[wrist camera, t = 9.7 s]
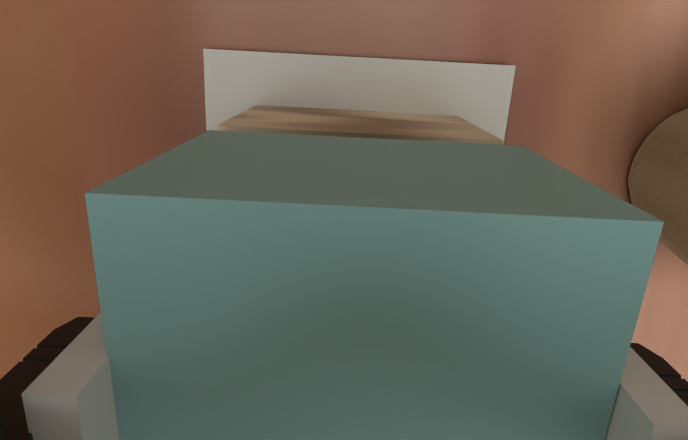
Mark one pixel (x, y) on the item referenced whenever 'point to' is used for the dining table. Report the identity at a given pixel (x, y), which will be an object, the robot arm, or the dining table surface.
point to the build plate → (356, 86)
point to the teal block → (364, 291)
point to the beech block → (357, 124)
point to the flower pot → (664, 180)
